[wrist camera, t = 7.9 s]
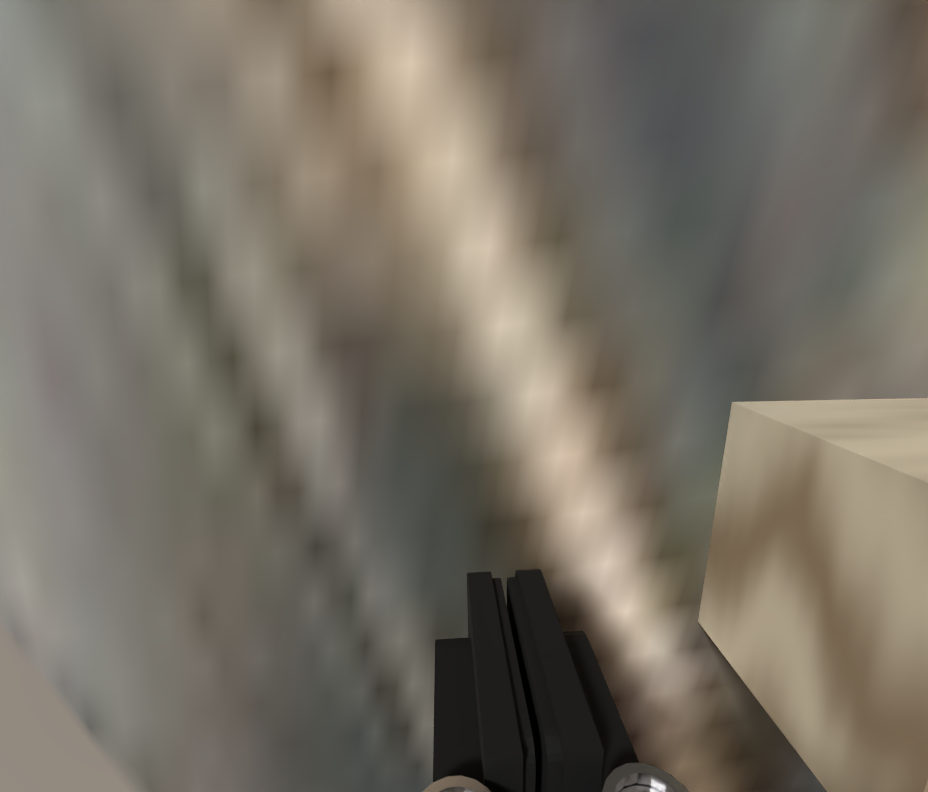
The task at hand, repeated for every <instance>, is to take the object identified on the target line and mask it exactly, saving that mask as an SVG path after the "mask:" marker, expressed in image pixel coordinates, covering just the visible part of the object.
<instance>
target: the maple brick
mask: <svg viewBox="0 0 928 792" xmlns="http://www.w3.org/2000/svg"><path fill="white" fill-rule="evenodd" d="M698 622H699V624H700V625H701V626H702V627H703V629H704V630H705V631H706V633H707V634H708V635H709V637H710V638H711V639H712V641H713V642H714V643H715V645H716V646H717V647H718V649H719V650H720V651H721V653H722V654H723V655H724V657H725V658H726V659H727V660H728V662H729V663H730V664H731V666H732V667H733V668H734V670H735V671H736V672H737V674H738V675H739V676H740V678H741V679H742V680H743V682H744V683H745V684H746V686H747V687H748V688H749V689H750V691H751V692H752V693H753V695H754V696H755V697H756V699H757V700H758V701H759V703H760V704H761V705H762V707H763V708H764V709H765V711H766V712H767V713H768V715H769V716H770V717H771V718H772V720H773V721H774V722H775V724H776V725H777V726H778V728H779V729H780V730H781V732H782V733H783V734H784V736H785V737H786V738H787V740H788V741H789V742H790V744H791V745H792V746H793V747H794V749H795V750H796V751H797V753H798V754H799V755H800V757H801V758H802V759H803V761H804V762H805V763H806V765H807V766H808V767H809V769H810V770H811V771H812V773H813V774H814V775H815V776H816V778H817V779H818V780H819V782H820V783H821V784H822V786H823V787H824V788H825V790H826V791H827V792H928V398H914V399H864V400H813V401H763V402H732V406H731V412H730V419H729V425H728V432H727V438H726V444H725V451H724V457H723V464H722V470H721V477H720V483H719V490H718V496H717V503H716V509H715V516H714V522H713V529H712V535H711V542H710V548H709V555H708V561H707V568H706V574H705V581H704V587H703V594H702V600H701V607H700V613H699V620H698Z"/></svg>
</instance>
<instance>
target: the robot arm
mask: <svg viewBox="0 0 928 792" xmlns="http://www.w3.org/2000/svg"><path fill="white" fill-rule="evenodd" d="M467 599H468V638H456V639H439V640H436V641H435V691H434V757H433V783H432V784H431V785H430V786H428V787H427V788H426V789H425V790H424V791H423V792H689V791H688V790H687V789H686V787H684V786H683V785H682V784H681V783H680V782H679V781H677V780H676V779H675V778H674V777H673V776H672V775H670V774H668V773H667V772H665V771H663V770H661V769H659V768H657V767H655V766H652V765H648V764H644V763H639V761H638V759H637V756H636V754H635V751H634V749H633V747H632V744H631V742H630V739H629V737H628V735H627V732H626V730H625V727H624V725H623V722H622V720H621V718H620V715H619V713H618V710H617V708H616V706H615V703H614V701H613V698H612V696H611V694H610V691H609V689H608V686H607V684H606V681H605V679H604V677H603V674H602V672H601V669H600V667H599V665H598V662H597V660H596V657H595V655H594V652H593V650H592V648H591V645H590V643H589V640H588V638H587V636H586V634H585V633H584V632H583V631H575V632H562V629H561V626H560V623H559V620H558V617H557V615H556V612H555V609H554V606H553V603H552V600H551V597H550V595H549V592H548V589H547V586H546V583H545V580H544V577H543V575H542V572H541V570H540V569H533V570H516V573H515V577H510V578H507V607H506V602H505V597H504V592H503V587H502V582H501V579H500V578H492V575H491V572H476V573H467Z"/></svg>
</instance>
